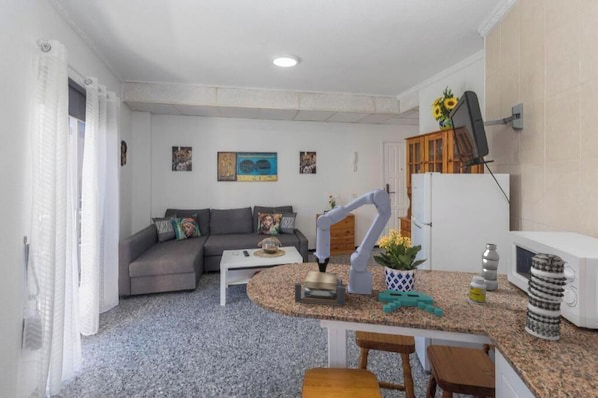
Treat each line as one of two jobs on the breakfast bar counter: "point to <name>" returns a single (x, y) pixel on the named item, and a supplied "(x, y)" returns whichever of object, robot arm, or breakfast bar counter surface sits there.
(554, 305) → the decorative candle
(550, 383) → the breakfast bar counter surface
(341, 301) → the roller bed
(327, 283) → the slab
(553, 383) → the breakfast bar counter surface
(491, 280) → the plastic bottle
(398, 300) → the alien figure
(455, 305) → the breakfast bar counter surface
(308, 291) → the loose roller
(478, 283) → the supplement bottle
